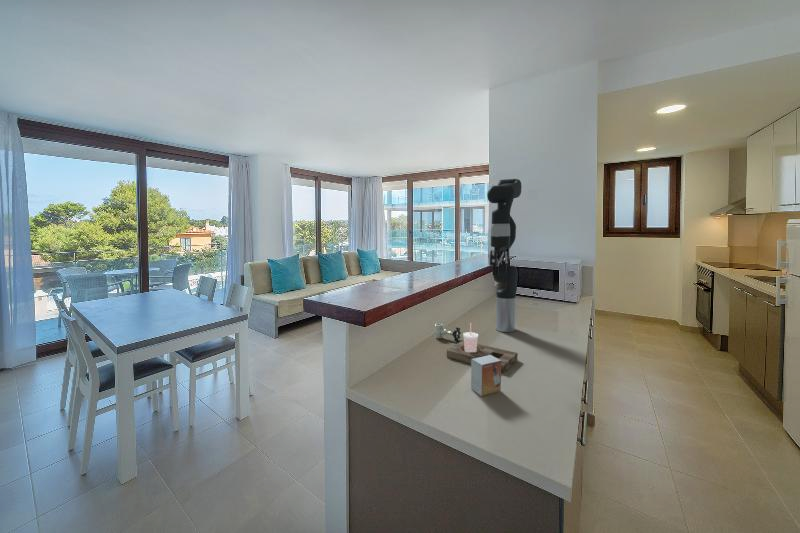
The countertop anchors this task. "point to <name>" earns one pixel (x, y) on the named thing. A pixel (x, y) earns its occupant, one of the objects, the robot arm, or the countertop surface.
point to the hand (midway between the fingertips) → (499, 274)
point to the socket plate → (483, 354)
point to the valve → (446, 332)
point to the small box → (486, 375)
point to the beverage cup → (470, 341)
